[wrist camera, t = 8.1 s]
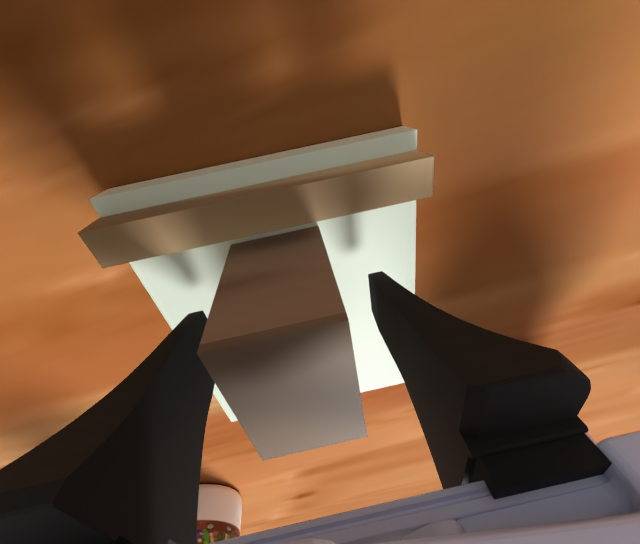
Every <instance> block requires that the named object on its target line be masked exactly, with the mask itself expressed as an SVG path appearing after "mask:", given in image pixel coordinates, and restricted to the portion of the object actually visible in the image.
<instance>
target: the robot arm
mask: <svg viewBox="0 0 640 544" xmlns="http://www.w3.org/2000/svg"><path fill="white" fill-rule="evenodd" d="M368 279H369V289H370V299H371V309H372V313H373V316H374V319H375V321H376V324H377V327H378V330H379V332H380V334H381V336H382V338H383V340H384V342H385V344H386V346H387V348H388V350H389V352H390V354H391V355H392V357H393V359H394V361H395V363H396V365H397V367H398V369H399V371H400V373H401V375H402V378H403V380H404V382H405V385H406V387H407V390H408V392H409V395H410V397H411V400H412V403H413V405H414V408H415V411H416V413H417V416H418V419H419V421H420V424H421V427H422V429H423V432H424V435H425V438H426V440H427V443H428V446H429V449H430V452H431V454H432V457H433V460H434V463H435V466H436V469H437V472H438V475H439V478H440V481H441V484H442V487H443V490H439V491H434V492H430V493H426V494H421V495H417V496H413V497H408V498H404V499H400V500H395V501H391V502H387V503H382V504H378V505H374V506H369V507H365V508H361V509H356V510H352V511H348V512H343V513H339V514H335V515H330V516H326V517H322V518H317V519H313V520H309V521H304V522H300V523H296V524H291V525H287V526H283V527H278V528H274V529H270V530H265V531H261V532H257V533H252V534H248V535H244V536H239V537H235V538H231V539H226V540H222V541H218V542H213V543H209V544H640V431H636V432H632V433H628V434H623V435H619V436H614V437H610V438H607V439H604V440H602V441H600V442H598V443H596V442H595V441H594V439H593V438H592V437H591V436H590V435H589V434H588V433H587V432H588V428H587V426H586V425H585V424H584V423H583V422H582V421H581V420H580V418H579V417H578V416H577V415H578V413H579V411H580V410H581V408H582V406H583V405H584V403H585V401H586V399H587V398H588V395H589V393H590V390H591V384H590V380H589V378H588V377H587V376H586V375H585V374H584V373H583V372H582V371H580V370H579V369H578V368H577V367H576V366H575V365H574V364H573V363H572V362H571V361H569V360H568V359H567V358H566V357H565V356H564V355H563V354H561V353H560V352H559V351H558V350H555V349H551V348H547V347H543V346H539V345H535V344H531V343H527V342H523V341H520V340H516V339H513V338H510V337H507V336H503V335H500V334H497V333H494V332H491V331H488V330H486V329H483V328H480V327H478V326H475V325H473V324H470V323H468V322H465V321H463V320H461V319H458V318H456V317H454V316H452V315H450V314H448V313H446V312H444V311H442V310H440V309H438V308H436V307H434V306H433V305H431V304H429V303H428V302H426V301H424V300H422V299H421V298H419V297H418V296H416V295H415V294H413V293H412V292H410V291H409V290H407V289H406V288H404V287H403V286H402V285H400V284H399V283H397V282H396V281H395V280H393V279H392V278H391V277H389V276H388V275H387V274H385V273H384V272H382V271H380V272H375V273H371V274H368ZM206 322H207V317H206V315H205V313H204V311H203V310H202V311H198V312H193V313H189V314H188V315H187V316H186V317H185V318H184V319H183V320H182V321H181V322H180V323H179V324H178V325H177V326H176V327H175V328H174V329H173V330H172V332H171V333H170V334H169V335H168V336H167V337H166V338H165V339H164V340H163V341H162V342H161V343H160V345H159V346H158V347H157V348H156V349H155V350H154V351H153V352H152V353H151V354H150V355H149V356H148V357H147V358H146V359H145V360H144V361H143V362H142V363H141V364H140V365H139V366H138V367H137V368H136V369H135V370H134V371H133V372H132V373H131V374H130V375H129V376H128V377H127V378H125V379H124V380H123V381H122V382H121V383H120V384H119V385H118V386H116V387H115V388H114V389H113V390H112V391H111V392H110V393H108V394H107V395H106V396H105V397H104V398H102V399H101V400H100V401H98V402H97V403H96V404H95V405H93V406H92V407H91V408H90V409H88V410H87V411H86V412H84V413H83V414H82V415H81V416H79V417H78V418H77V419H75V420H74V421H73V422H71V423H70V424H68V425H67V426H66V427H64V428H63V429H61V430H60V431H59V432H57V433H56V434H54V435H53V436H51V437H50V438H49V439H47V440H46V441H44V442H43V443H41V444H40V445H38V446H37V447H35V448H34V449H32V450H31V451H29V452H28V453H26V454H24V455H23V456H21V457H20V458H18V459H16V460H15V461H13V462H12V463H10V464H8V465H7V466H5V467H4V468H2V469H0V544H196V540H197V512H198V496H199V481H200V470H201V460H202V450H203V442H204V434H205V426H206V421H207V415H208V411H209V407H210V403H211V398H212V394H213V390H214V385H215V382H214V381H213V379H212V377H211V376H210V374H209V373H208V371H207V369H206V368H205V366H204V364H203V363H202V361H201V360H200V358H199V356H198V355H197V351H198V348H199V344H200V341H201V338H202V335H203V332H204V329H205V325H206Z"/></svg>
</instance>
